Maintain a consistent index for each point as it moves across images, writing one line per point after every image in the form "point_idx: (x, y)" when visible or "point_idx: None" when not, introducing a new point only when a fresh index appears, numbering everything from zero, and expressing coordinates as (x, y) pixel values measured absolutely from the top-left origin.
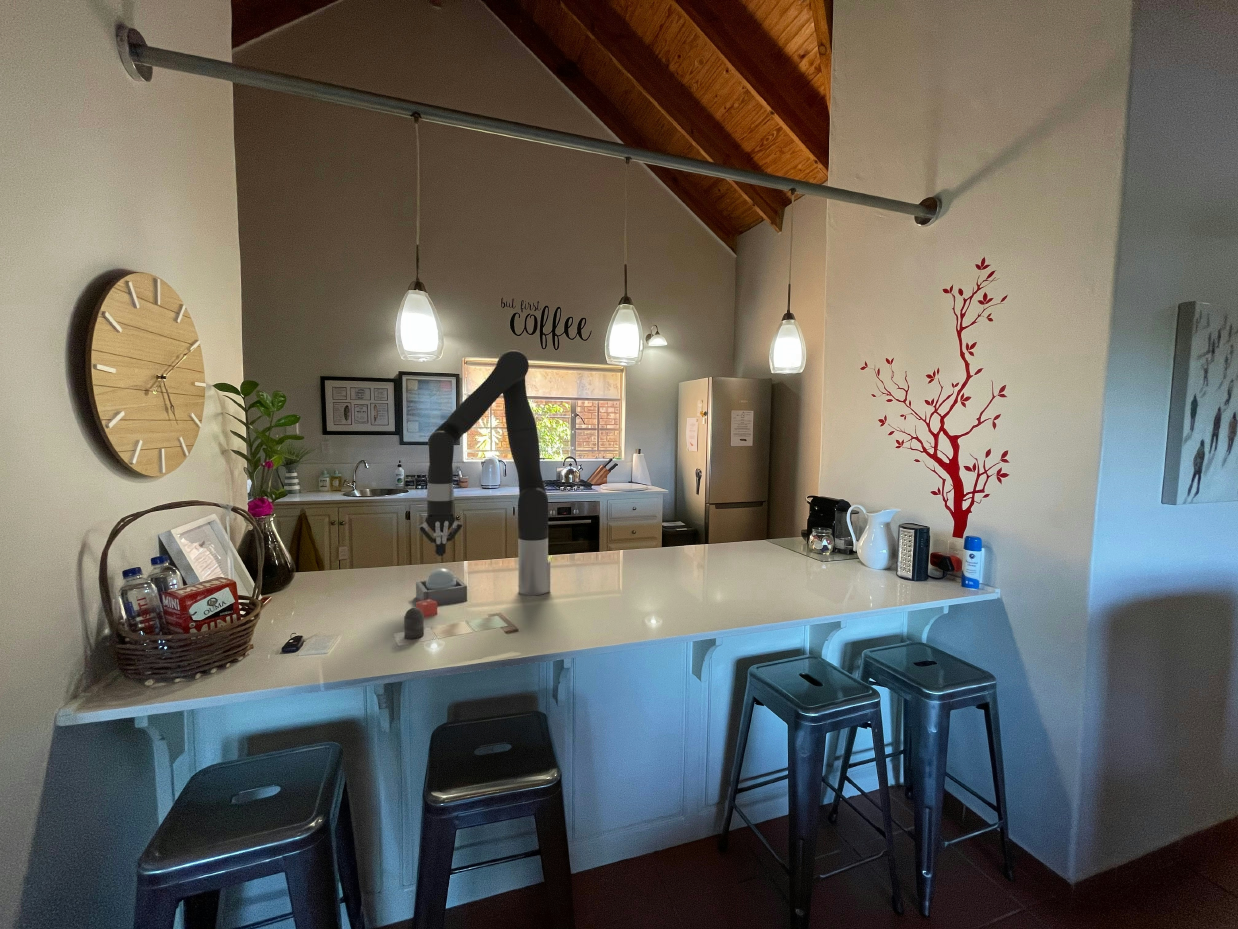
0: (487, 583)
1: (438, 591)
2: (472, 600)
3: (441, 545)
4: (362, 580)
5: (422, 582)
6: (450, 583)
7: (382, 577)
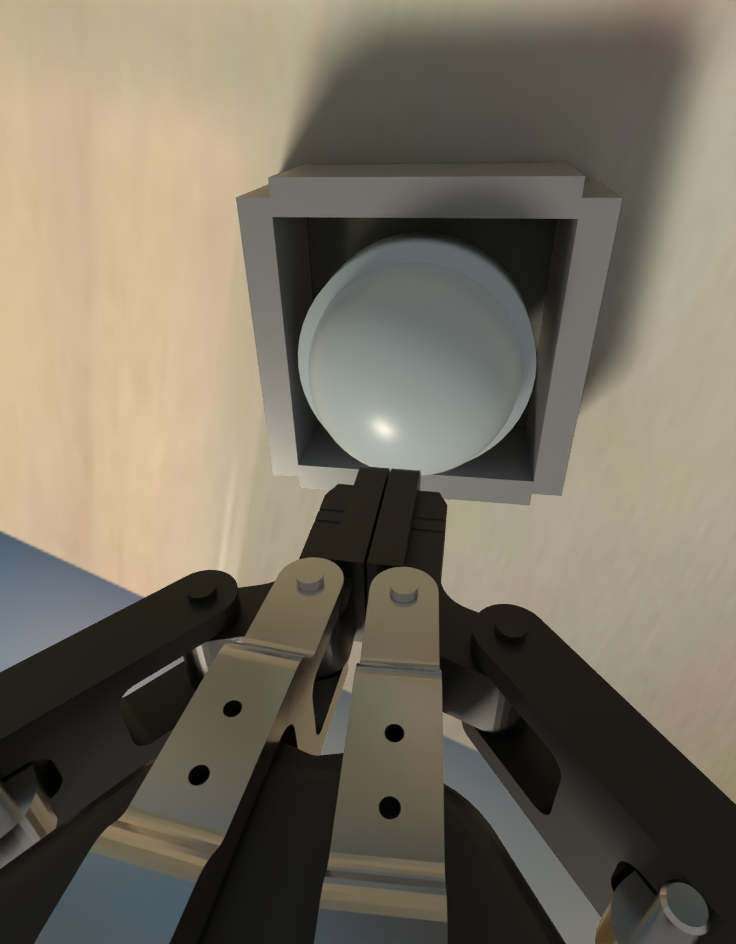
0: (124, 477)
1: (489, 176)
2: (238, 186)
3: (363, 549)
4: None
5: (518, 477)
6: (361, 259)
7: None
